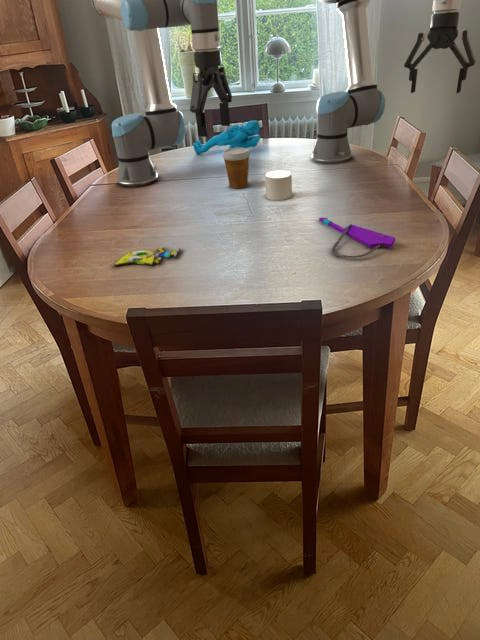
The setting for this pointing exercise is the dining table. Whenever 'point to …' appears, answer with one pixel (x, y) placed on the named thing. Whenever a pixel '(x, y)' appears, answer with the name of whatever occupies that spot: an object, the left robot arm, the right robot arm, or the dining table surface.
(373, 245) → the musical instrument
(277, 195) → the canister
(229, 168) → the disposable coffee cup
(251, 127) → the toy
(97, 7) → the left robot arm
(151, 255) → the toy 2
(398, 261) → the dining table surface
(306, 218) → the dining table surface
